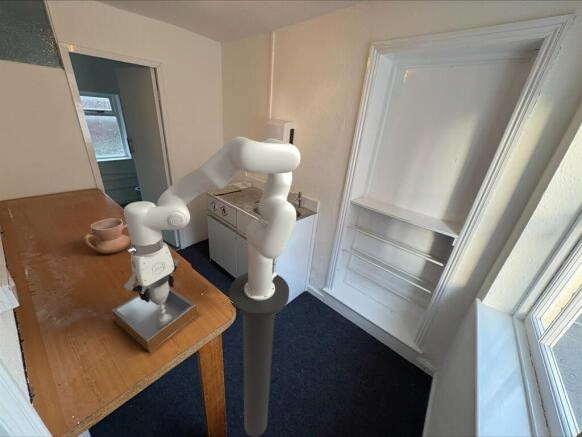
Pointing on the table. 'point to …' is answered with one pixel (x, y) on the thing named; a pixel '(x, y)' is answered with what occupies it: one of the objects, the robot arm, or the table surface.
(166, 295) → the chalice
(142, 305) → the grey rectangular tray
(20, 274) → the table surface
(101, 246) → the ceramic jug
